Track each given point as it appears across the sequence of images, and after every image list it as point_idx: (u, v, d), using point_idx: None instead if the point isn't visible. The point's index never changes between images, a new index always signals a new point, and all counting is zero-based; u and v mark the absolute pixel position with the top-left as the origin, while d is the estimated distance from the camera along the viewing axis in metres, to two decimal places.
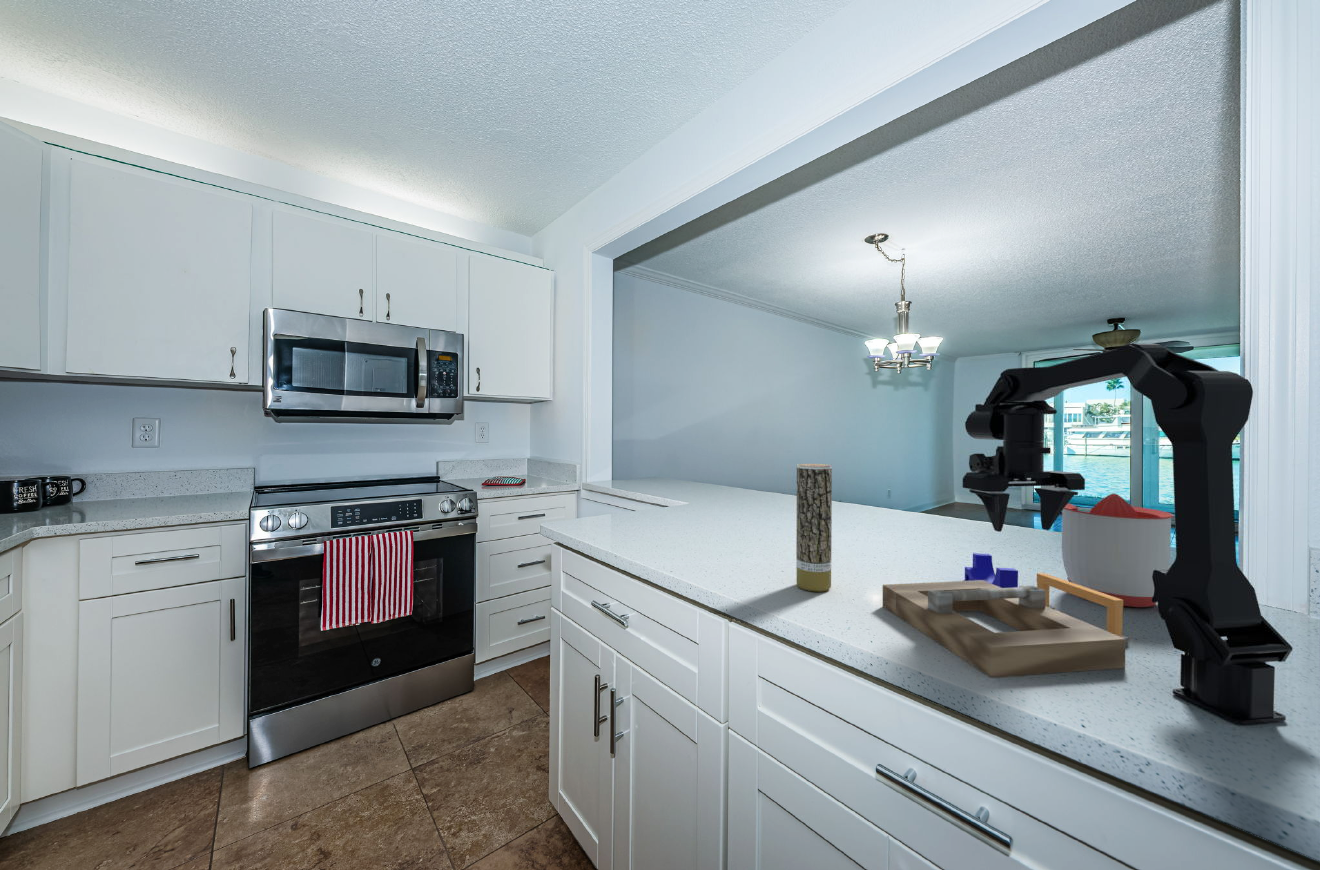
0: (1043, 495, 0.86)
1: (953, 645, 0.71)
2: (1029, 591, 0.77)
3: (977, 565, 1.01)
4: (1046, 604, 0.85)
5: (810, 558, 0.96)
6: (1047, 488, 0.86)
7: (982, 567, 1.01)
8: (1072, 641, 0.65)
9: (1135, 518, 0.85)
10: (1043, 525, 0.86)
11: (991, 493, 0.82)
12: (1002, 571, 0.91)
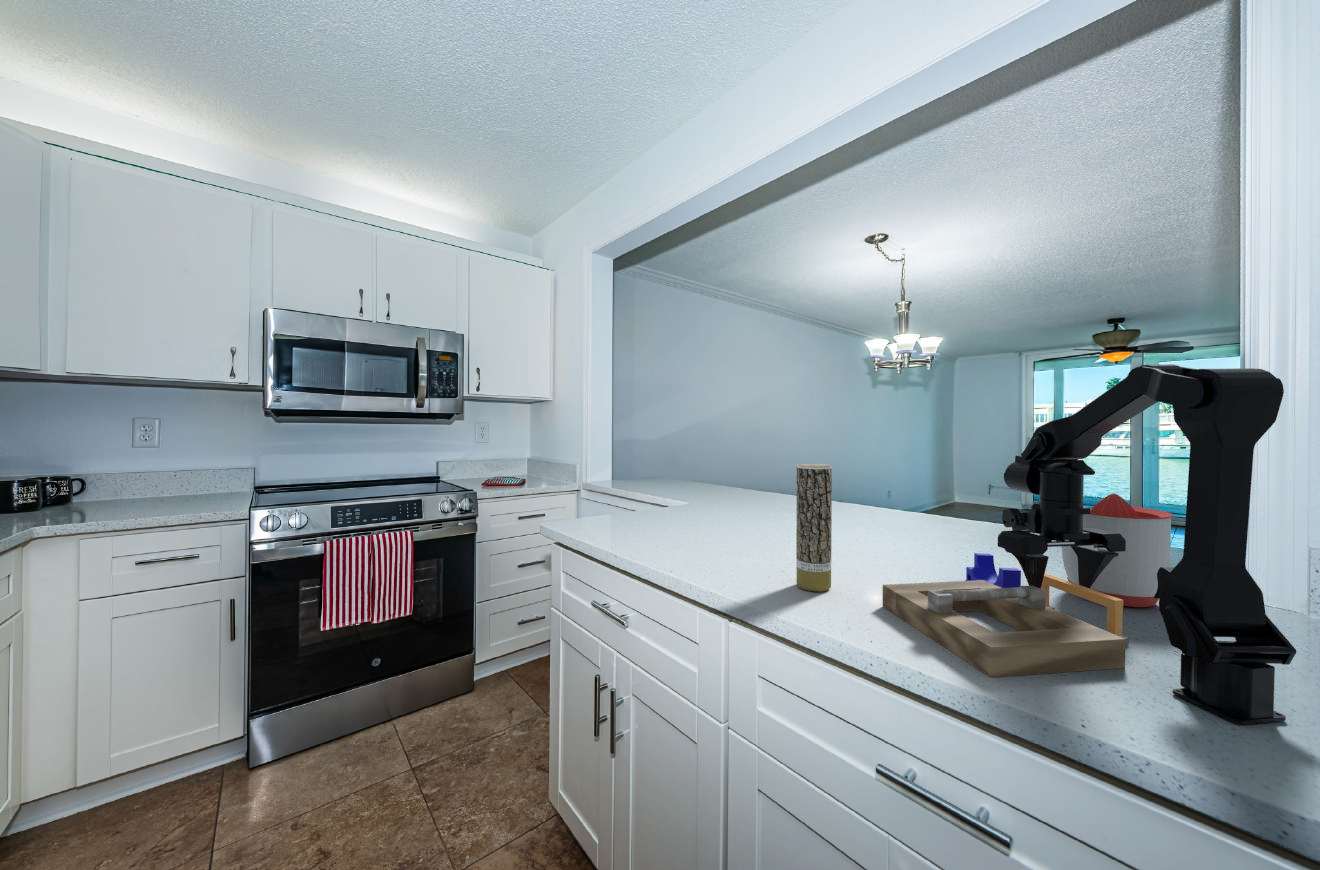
0: (1081, 554, 0.83)
1: (953, 645, 0.71)
2: (1029, 591, 0.77)
3: (979, 565, 1.01)
4: (1046, 604, 0.85)
5: (810, 558, 0.96)
6: (1085, 547, 0.83)
7: (984, 567, 1.01)
8: (1072, 641, 0.65)
9: (1135, 518, 0.85)
10: (1081, 585, 0.83)
11: (1029, 555, 0.79)
12: (1005, 571, 0.91)
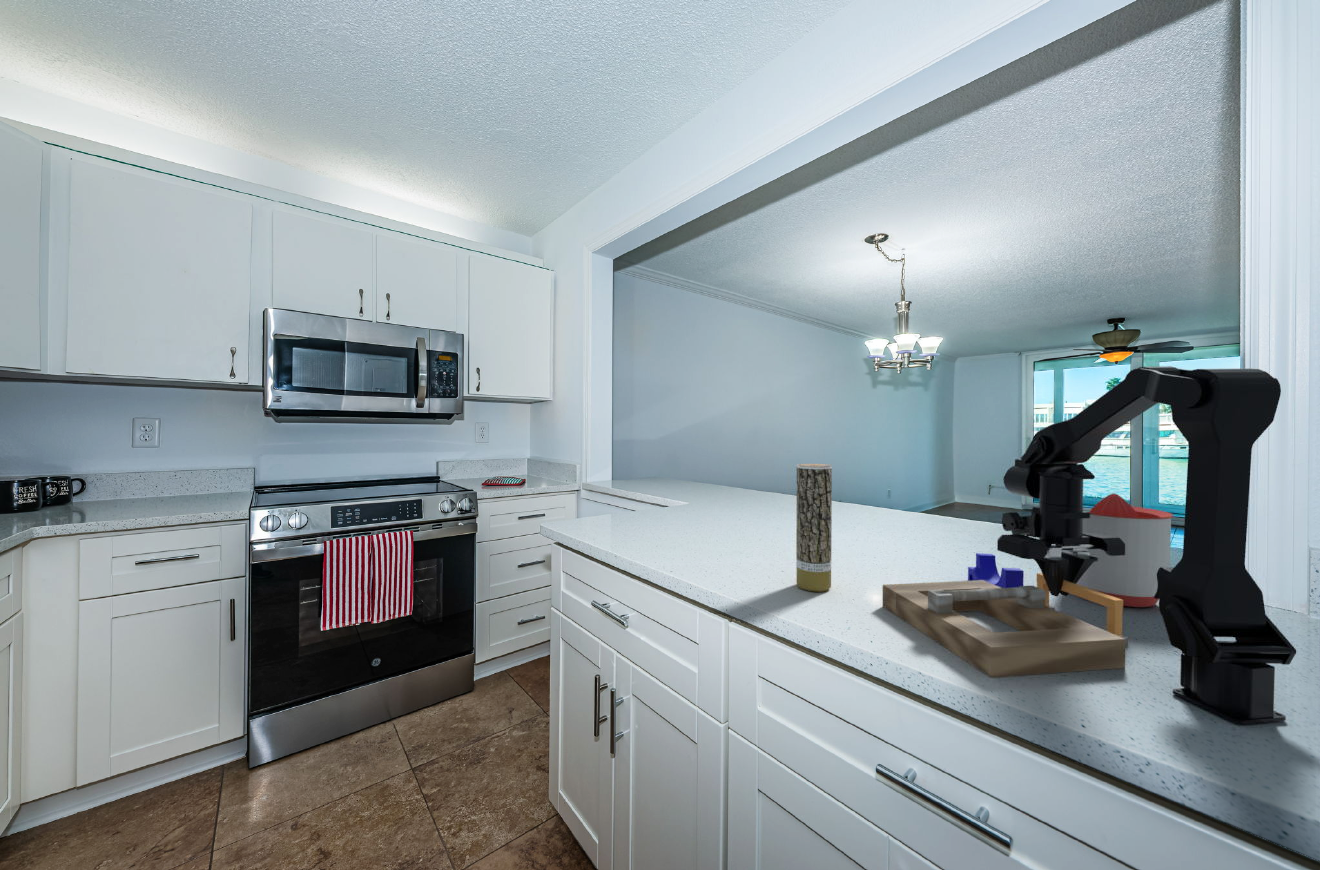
0: None
1: (953, 645, 0.71)
2: (1029, 591, 0.77)
3: (981, 565, 1.01)
4: (1046, 604, 0.85)
5: (810, 558, 0.96)
6: (1065, 552, 0.83)
7: (986, 567, 1.01)
8: (1072, 641, 0.65)
9: (1135, 518, 0.85)
10: (1061, 590, 0.83)
11: (1049, 559, 0.79)
12: (1008, 571, 0.91)
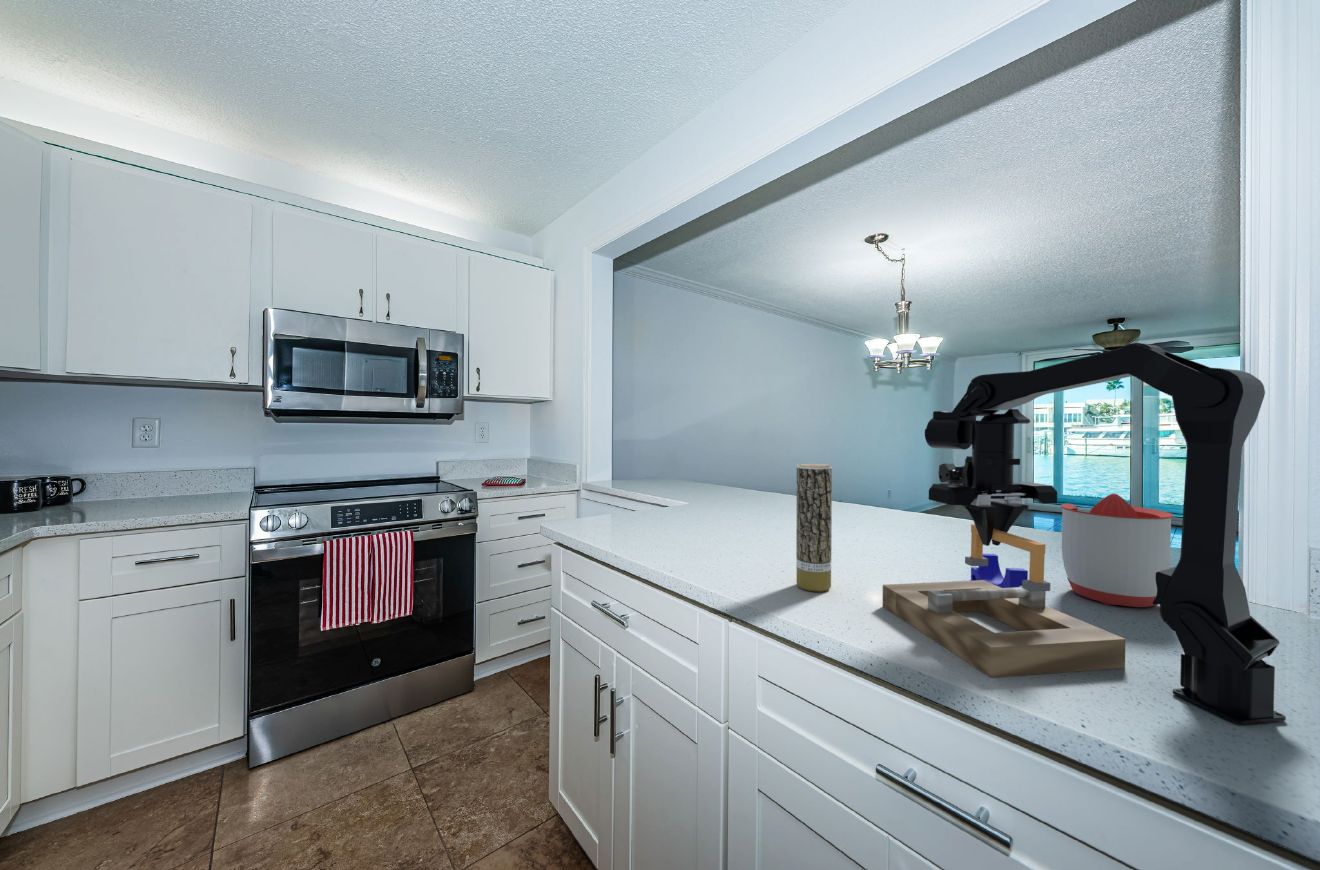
0: None
1: (953, 645, 0.71)
2: (1029, 591, 0.77)
3: None
4: (979, 555, 0.83)
5: (810, 558, 0.96)
6: (998, 501, 0.81)
7: (989, 567, 1.01)
8: (1072, 641, 0.65)
9: (1135, 518, 0.85)
10: (993, 540, 0.81)
11: (978, 506, 0.78)
12: (1012, 571, 0.91)
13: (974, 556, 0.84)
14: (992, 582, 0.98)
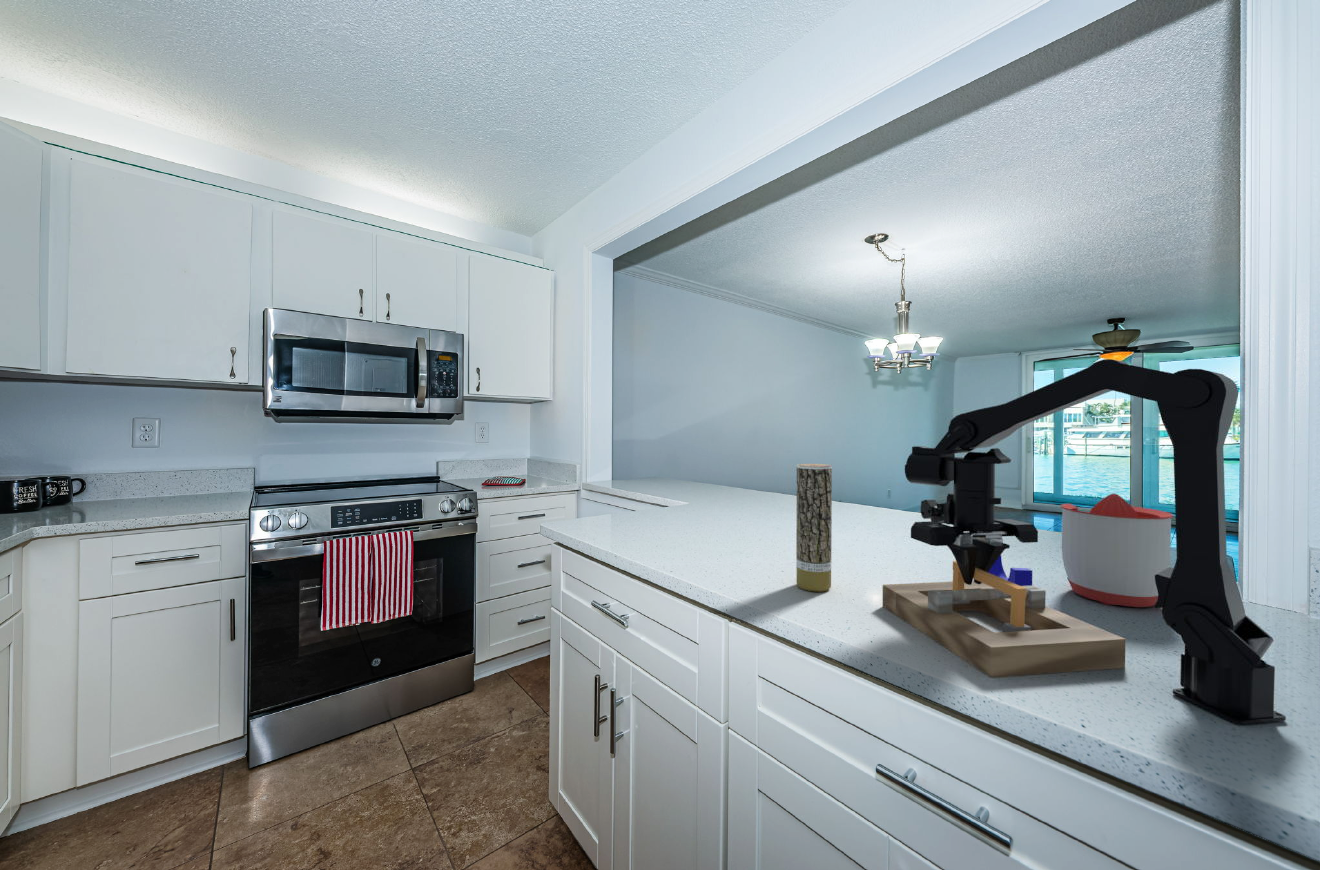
0: None
1: (953, 645, 0.71)
2: (1029, 591, 0.77)
3: None
4: None
5: (810, 558, 0.96)
6: (979, 539, 0.81)
7: (992, 567, 1.01)
8: (1072, 641, 0.65)
9: (1135, 518, 0.85)
10: None
11: (960, 546, 0.77)
12: (1017, 571, 0.91)
13: None
14: None
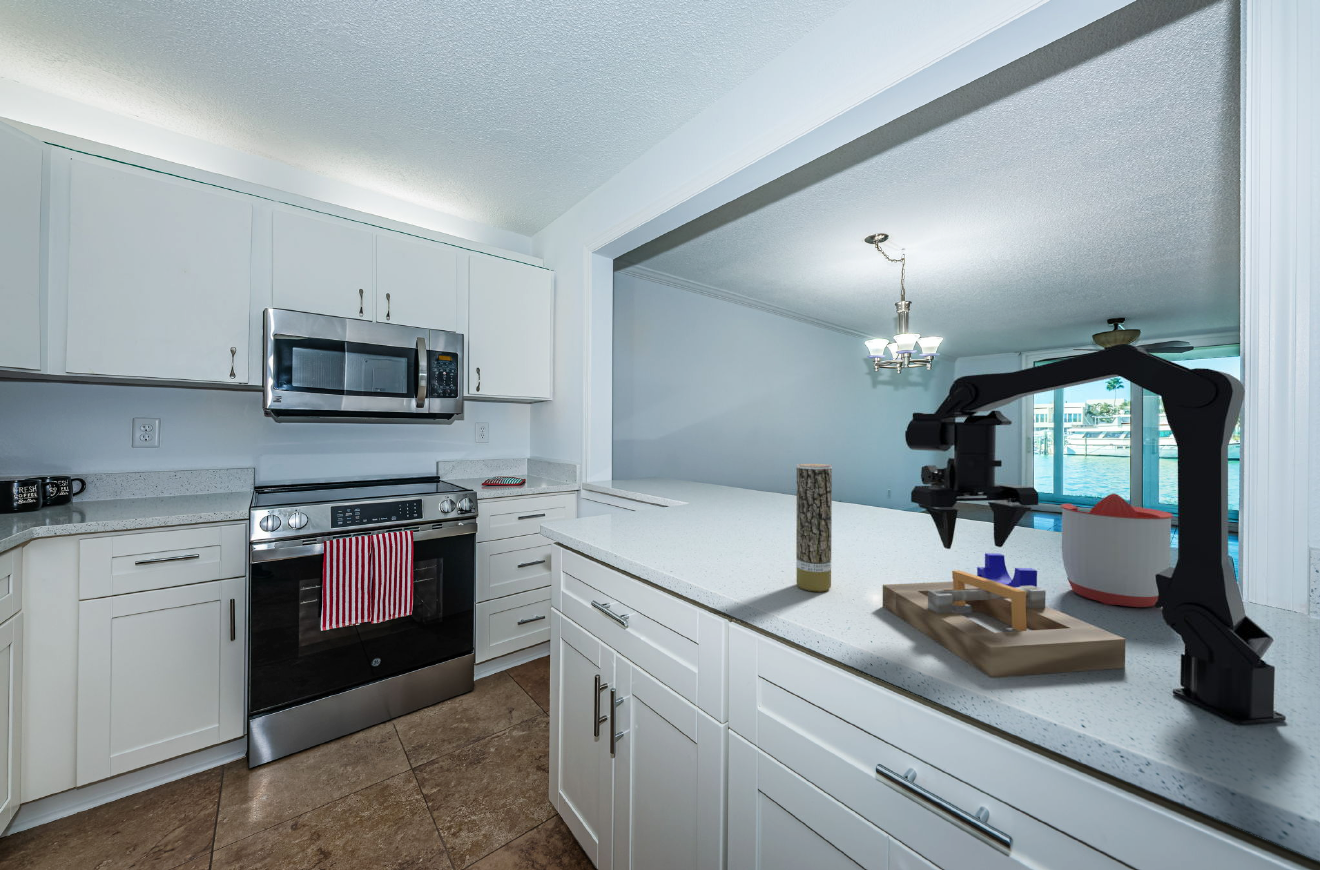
0: (996, 510, 0.82)
1: (953, 645, 0.71)
2: (1029, 591, 0.77)
3: (990, 565, 1.01)
4: (962, 602, 0.83)
5: (810, 558, 0.96)
6: (1000, 502, 0.81)
7: (995, 567, 1.01)
8: (1072, 641, 0.65)
9: (1135, 518, 0.85)
10: (996, 542, 0.81)
11: (938, 509, 0.77)
12: (1022, 571, 0.91)
13: (957, 603, 0.83)
14: (1000, 582, 0.98)
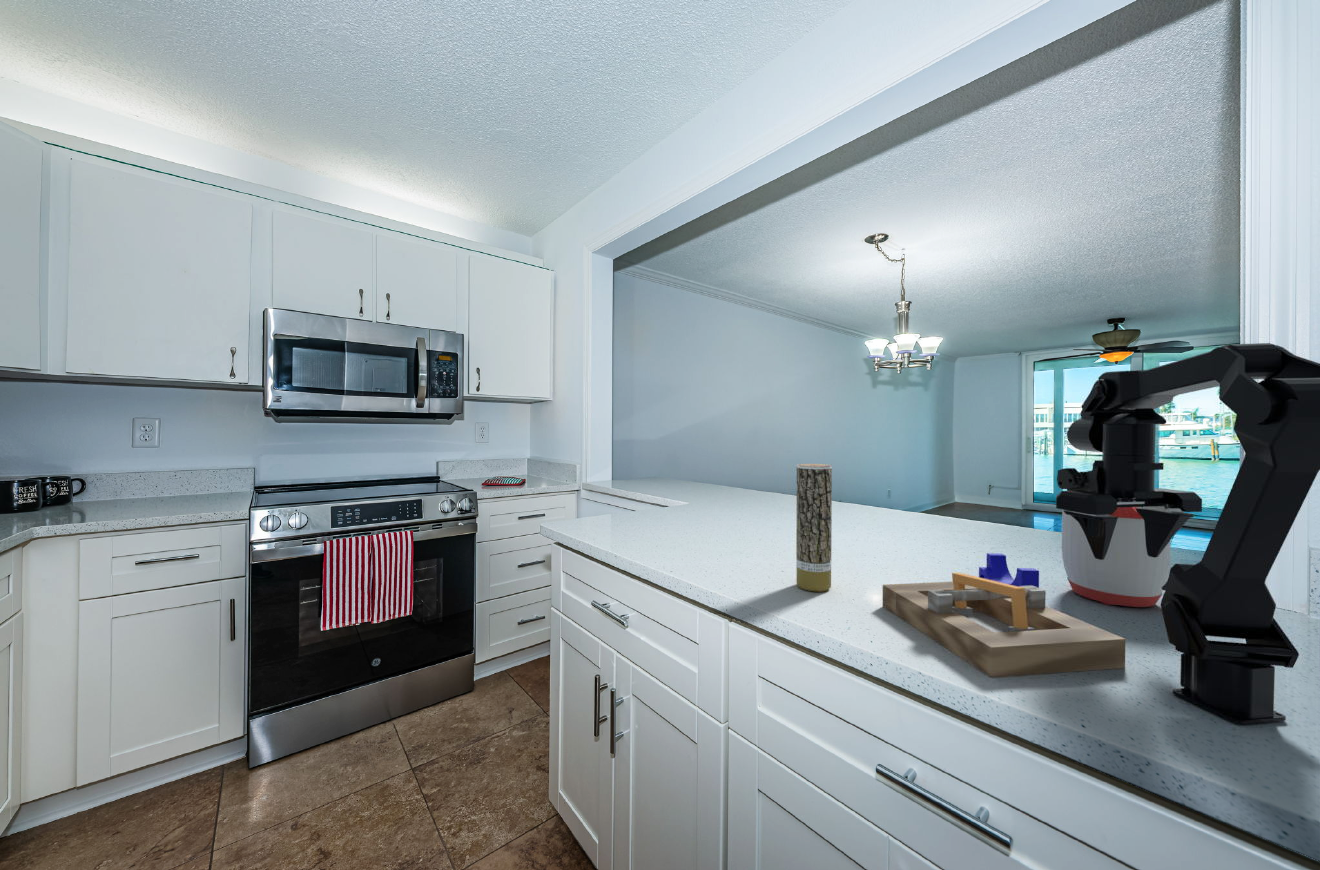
0: (1148, 517, 0.75)
1: (953, 645, 0.71)
2: (1029, 591, 0.77)
3: (992, 565, 1.01)
4: (963, 605, 0.82)
5: (810, 558, 0.96)
6: (1153, 509, 0.75)
7: (997, 567, 1.01)
8: (1072, 641, 0.65)
9: (1135, 518, 0.85)
10: (1149, 552, 0.74)
11: (1096, 516, 0.70)
12: (1024, 571, 0.91)
13: (958, 606, 0.83)
14: (1001, 582, 0.98)
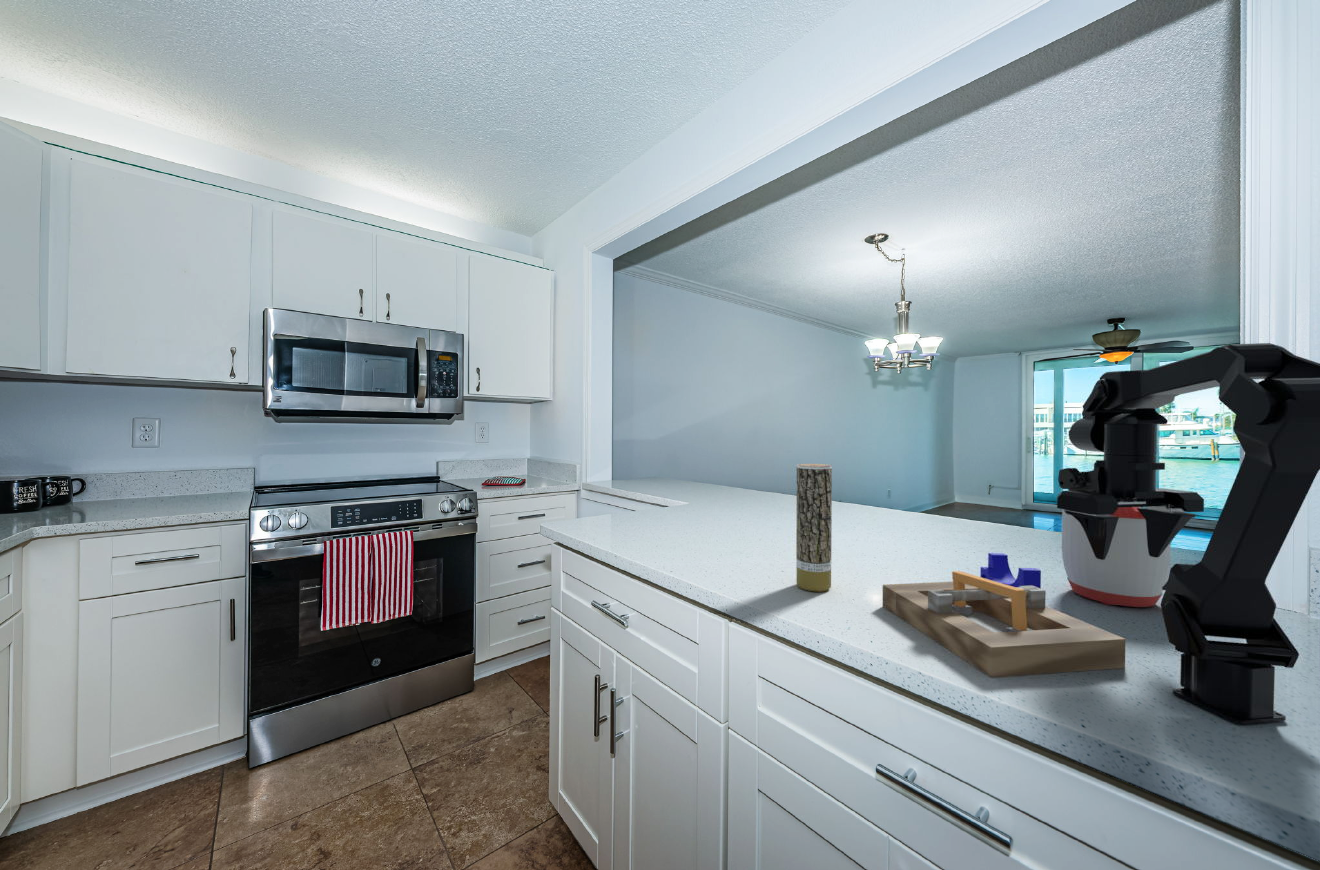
0: (1150, 517, 0.75)
1: (953, 645, 0.71)
2: (1029, 591, 0.77)
3: (994, 565, 1.01)
4: (963, 603, 0.83)
5: (810, 558, 0.96)
6: (1155, 509, 0.74)
7: (999, 567, 1.01)
8: (1072, 641, 0.65)
9: (1135, 518, 0.85)
10: (1151, 552, 0.74)
11: (1096, 516, 0.70)
12: (1025, 571, 0.91)
13: (957, 604, 0.83)
14: (1003, 582, 0.98)
